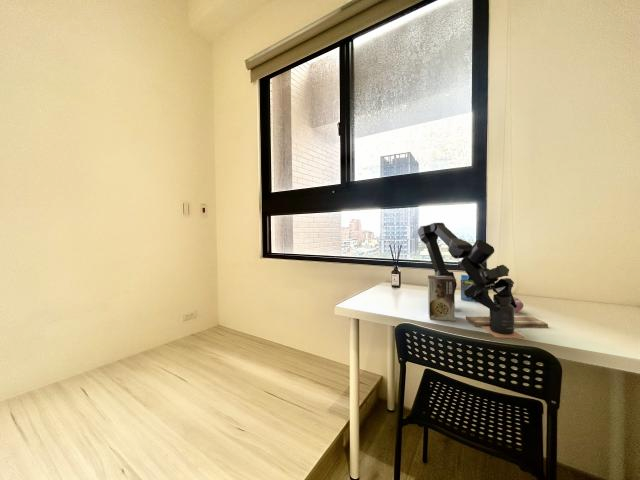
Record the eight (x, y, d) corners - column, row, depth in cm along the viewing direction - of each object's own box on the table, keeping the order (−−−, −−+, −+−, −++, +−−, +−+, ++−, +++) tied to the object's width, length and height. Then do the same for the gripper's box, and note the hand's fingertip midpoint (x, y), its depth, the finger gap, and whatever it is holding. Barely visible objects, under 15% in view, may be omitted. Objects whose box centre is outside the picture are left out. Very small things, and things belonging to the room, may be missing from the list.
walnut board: (474, 326, 92) (474, 322, 92) (465, 319, 99) (465, 316, 99) (547, 327, 89) (547, 323, 89) (533, 320, 96) (533, 316, 96)
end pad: (496, 337, 83) (496, 336, 83) (481, 327, 91) (481, 326, 91) (524, 337, 82) (524, 337, 82) (507, 327, 90) (507, 326, 90)
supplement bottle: (484, 327, 90) (484, 293, 89) (503, 326, 90) (503, 292, 90) (499, 335, 83) (500, 299, 82) (519, 334, 83) (520, 298, 83)
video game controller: (519, 319, 102) (528, 303, 101) (507, 313, 103) (516, 298, 102) (506, 310, 112) (514, 296, 111) (495, 305, 112) (503, 291, 112)
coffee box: (452, 315, 103) (452, 275, 102) (455, 321, 97) (455, 278, 96) (427, 313, 106) (427, 274, 105) (428, 319, 100) (428, 277, 99)
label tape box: (483, 301, 121) (483, 275, 121) (481, 303, 118) (481, 276, 118) (462, 298, 127) (462, 273, 126) (460, 300, 124) (460, 274, 123)
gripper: (472, 259, 85) (506, 300, 76) (508, 255, 92) (544, 293, 83) (451, 278, 93) (480, 318, 83) (486, 273, 100) (517, 310, 90)
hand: (506, 309), depth 85 cm, fingers open, 9 cm apart
